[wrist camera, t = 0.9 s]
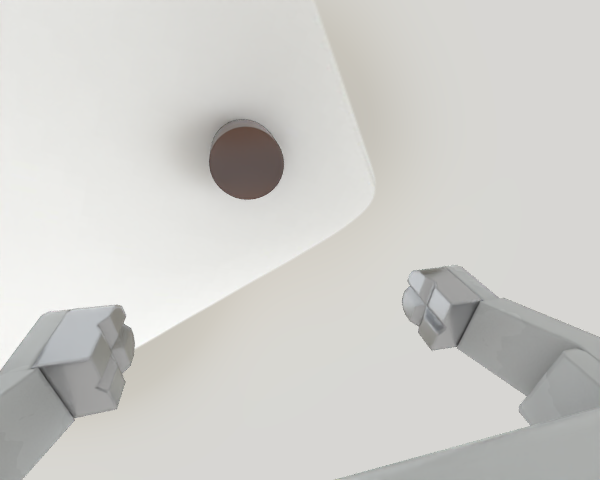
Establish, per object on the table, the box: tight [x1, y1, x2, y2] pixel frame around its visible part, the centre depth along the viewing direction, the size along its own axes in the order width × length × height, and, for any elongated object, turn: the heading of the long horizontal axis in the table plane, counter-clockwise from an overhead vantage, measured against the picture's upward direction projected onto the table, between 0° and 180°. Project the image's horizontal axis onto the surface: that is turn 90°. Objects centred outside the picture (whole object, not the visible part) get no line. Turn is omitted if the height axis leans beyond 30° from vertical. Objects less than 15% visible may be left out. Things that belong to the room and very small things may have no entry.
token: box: [209, 120, 284, 199], centre depth 20 cm, size 5×5×3 cm
